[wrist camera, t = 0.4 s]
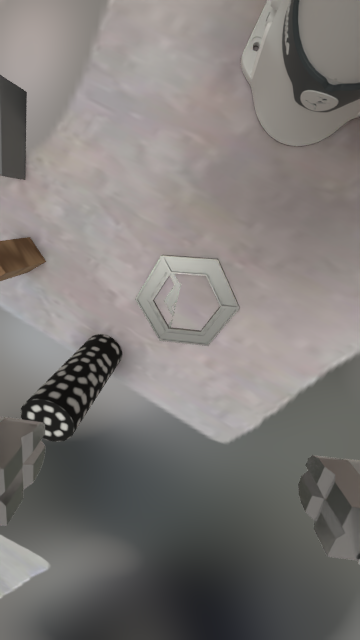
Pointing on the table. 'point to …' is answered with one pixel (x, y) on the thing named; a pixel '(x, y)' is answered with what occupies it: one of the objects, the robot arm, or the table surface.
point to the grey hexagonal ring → (156, 281)
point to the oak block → (18, 257)
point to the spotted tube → (73, 388)
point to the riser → (12, 129)
